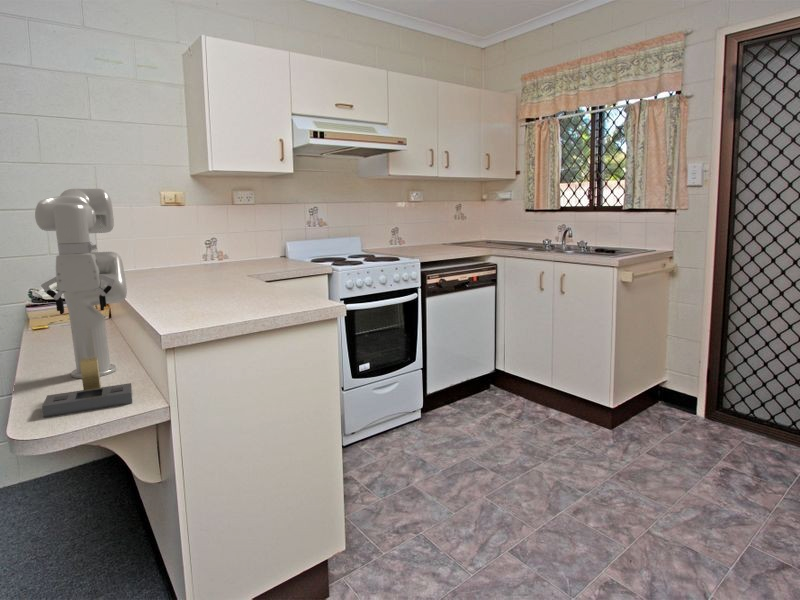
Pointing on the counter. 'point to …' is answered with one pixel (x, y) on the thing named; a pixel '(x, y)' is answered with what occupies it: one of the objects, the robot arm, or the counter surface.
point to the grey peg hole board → (87, 400)
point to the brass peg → (90, 373)
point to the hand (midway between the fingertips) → (82, 311)
